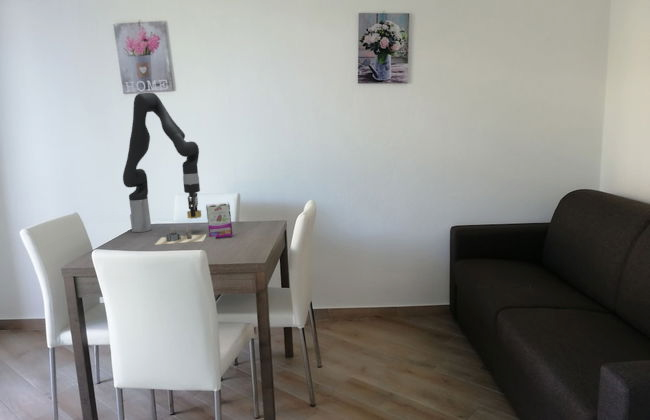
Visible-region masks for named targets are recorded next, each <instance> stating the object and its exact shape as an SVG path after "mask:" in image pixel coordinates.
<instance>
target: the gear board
mask: <svg viewBox="0 0 650 420" xmlns="http://www.w3.org/2000/svg"><path fill="white" fill-rule="evenodd" d="M185 229H186V230H185V231H186V235H181V239H180V240H177V241H171V242H169V241H166V236H165V237H164V236H163V237H162V236H161V237H160V238H159V239H158V241H156V242H155V243H154V246H155V245H156V246H158V245H165V244H166V245H168V244H169V245H170V244H180V243H194V242H195V243H196V242H204V240H205V238H206V236H207V235H208V234H206V233H205V234H192V227H191V225H187V226H185ZM175 232H176V227H175V226H171V227H169V233H171V235H173V234H175Z"/></svg>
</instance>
